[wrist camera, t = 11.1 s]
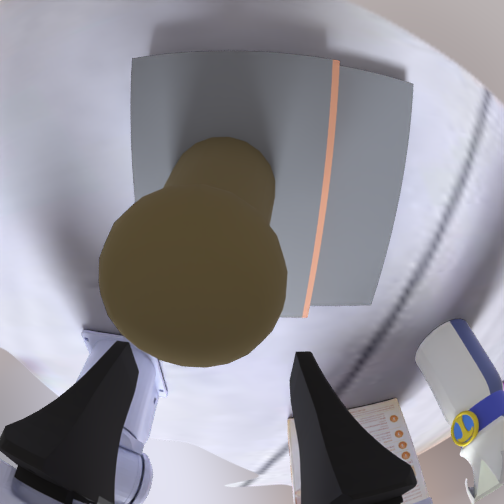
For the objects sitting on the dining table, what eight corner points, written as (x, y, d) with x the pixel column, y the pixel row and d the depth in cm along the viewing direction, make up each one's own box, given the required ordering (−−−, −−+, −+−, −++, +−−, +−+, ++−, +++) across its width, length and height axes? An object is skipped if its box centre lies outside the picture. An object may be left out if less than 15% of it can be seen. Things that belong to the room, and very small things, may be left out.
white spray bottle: (398, 372, 28) (457, 560, 6) (433, 316, 24) (533, 529, 2) (445, 368, 29) (509, 523, 7) (479, 317, 25) (572, 483, 3)
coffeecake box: (287, 438, 35) (296, 558, 18) (286, 417, 32) (297, 559, 14) (386, 420, 34) (415, 530, 17) (397, 396, 31) (437, 521, 14)
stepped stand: (366, 296, 23) (376, 316, 20) (159, 290, 22) (151, 310, 20) (404, 84, 15) (424, 83, 13) (147, 64, 15) (132, 58, 12)
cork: (151, 170, 15) (27, 268, 6) (244, 117, 14) (230, 126, 4) (203, 253, 18) (162, 409, 8) (293, 211, 17) (345, 357, 7)
